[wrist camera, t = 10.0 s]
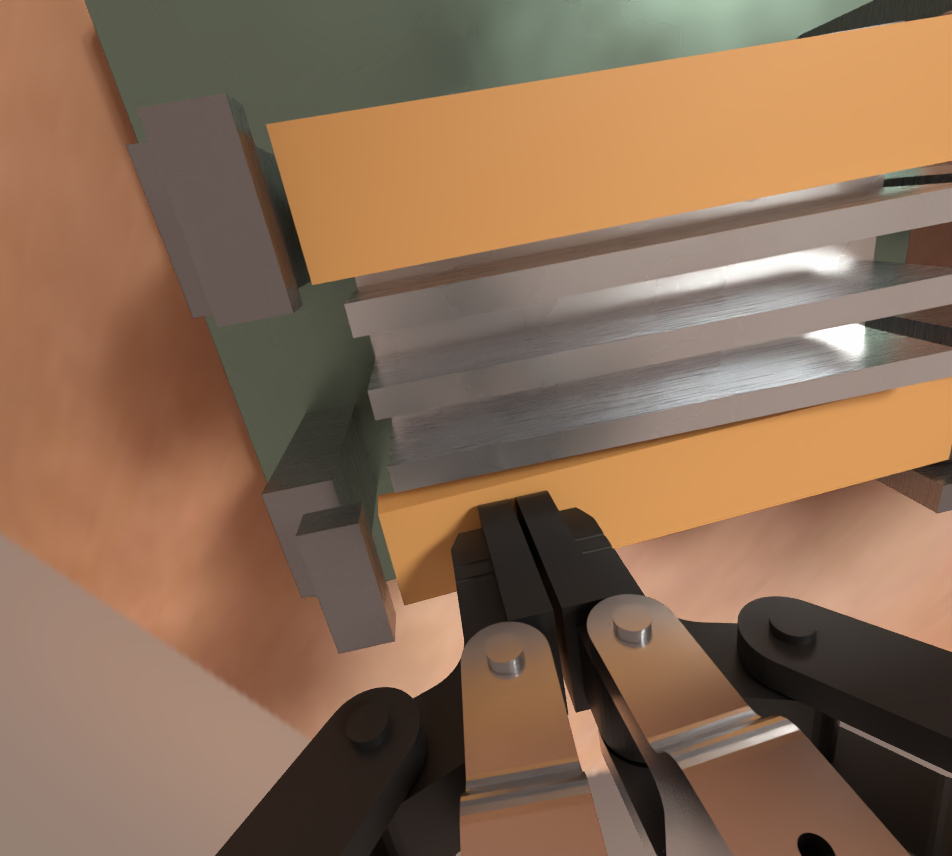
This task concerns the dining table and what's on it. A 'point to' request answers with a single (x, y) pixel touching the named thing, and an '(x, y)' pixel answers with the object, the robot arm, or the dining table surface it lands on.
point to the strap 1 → (612, 146)
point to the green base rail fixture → (503, 265)
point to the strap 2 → (681, 477)
